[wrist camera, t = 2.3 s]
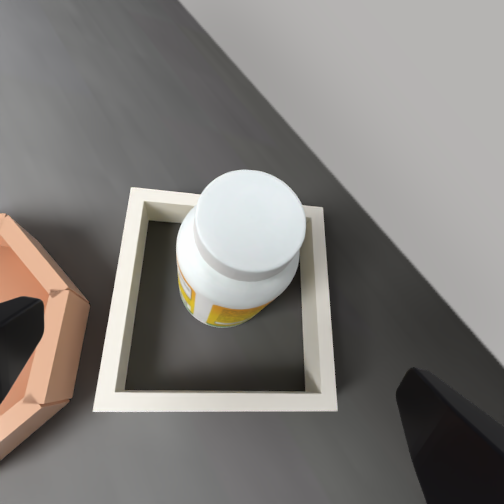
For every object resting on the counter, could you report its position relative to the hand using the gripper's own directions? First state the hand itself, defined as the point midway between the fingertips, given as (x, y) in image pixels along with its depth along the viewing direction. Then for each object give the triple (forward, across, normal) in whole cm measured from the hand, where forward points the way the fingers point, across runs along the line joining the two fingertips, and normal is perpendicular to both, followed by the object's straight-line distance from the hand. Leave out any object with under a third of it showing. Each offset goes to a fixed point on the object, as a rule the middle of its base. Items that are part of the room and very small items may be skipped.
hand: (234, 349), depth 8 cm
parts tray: (+11, 0, +6) cm, 12 cm away
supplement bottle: (+12, 0, +5) cm, 13 cm away
